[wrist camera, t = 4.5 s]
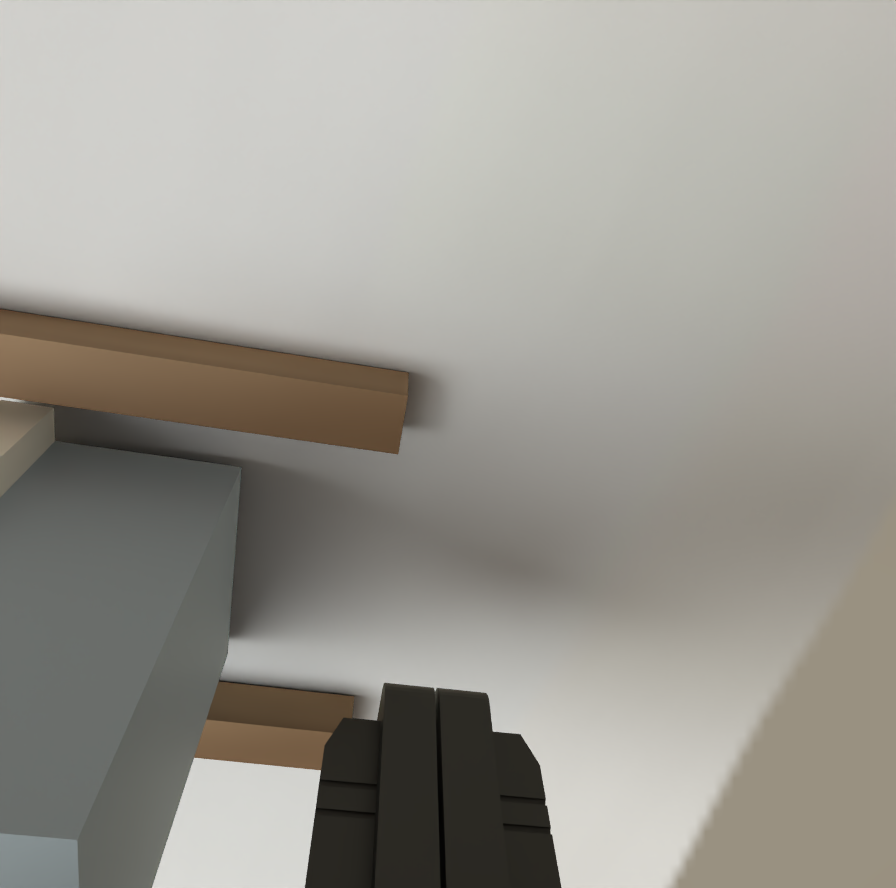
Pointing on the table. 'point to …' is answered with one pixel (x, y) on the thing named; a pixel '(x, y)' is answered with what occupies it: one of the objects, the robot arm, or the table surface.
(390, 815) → the robot arm
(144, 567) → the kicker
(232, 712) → the pair of wooden rails
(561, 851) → the table surface
